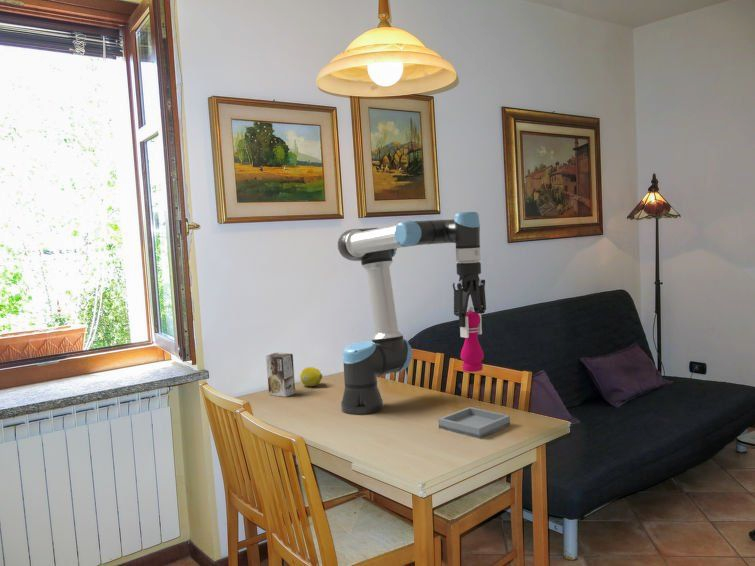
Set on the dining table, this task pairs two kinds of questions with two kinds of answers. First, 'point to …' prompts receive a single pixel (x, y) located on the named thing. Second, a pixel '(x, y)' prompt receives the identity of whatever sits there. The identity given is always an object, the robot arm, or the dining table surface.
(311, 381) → the lemon
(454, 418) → the tray
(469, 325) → the pepper mill
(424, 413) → the dining table surface
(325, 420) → the dining table surface
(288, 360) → the coffee box
